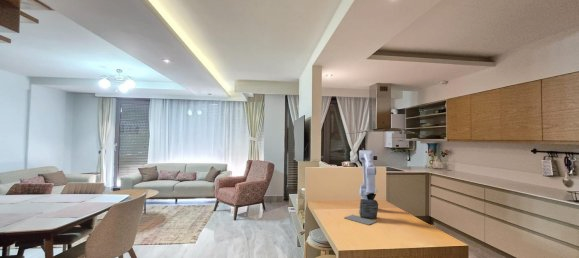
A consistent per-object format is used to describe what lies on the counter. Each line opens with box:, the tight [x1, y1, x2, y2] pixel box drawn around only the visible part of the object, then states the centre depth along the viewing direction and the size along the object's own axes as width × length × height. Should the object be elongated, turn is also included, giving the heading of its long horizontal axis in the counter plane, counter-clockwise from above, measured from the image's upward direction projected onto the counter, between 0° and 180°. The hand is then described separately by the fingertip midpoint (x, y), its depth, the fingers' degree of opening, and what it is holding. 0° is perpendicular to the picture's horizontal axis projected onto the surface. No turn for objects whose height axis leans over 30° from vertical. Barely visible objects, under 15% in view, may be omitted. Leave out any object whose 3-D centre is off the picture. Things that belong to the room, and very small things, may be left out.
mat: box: [343, 214, 378, 226], centre depth 163 cm, size 10×18×1 cm, turn 43°
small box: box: [358, 198, 379, 220], centre depth 168 cm, size 11×6×10 cm, turn 85°
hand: (370, 204), depth 172 cm, fingers closed
